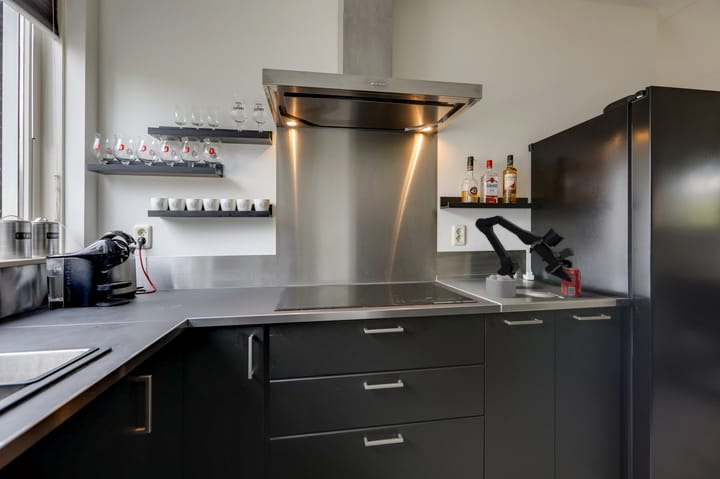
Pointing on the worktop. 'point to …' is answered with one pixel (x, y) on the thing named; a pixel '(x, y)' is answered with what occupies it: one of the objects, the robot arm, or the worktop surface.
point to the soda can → (572, 283)
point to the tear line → (557, 295)
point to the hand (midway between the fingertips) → (574, 280)
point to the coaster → (540, 294)
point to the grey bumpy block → (500, 286)
